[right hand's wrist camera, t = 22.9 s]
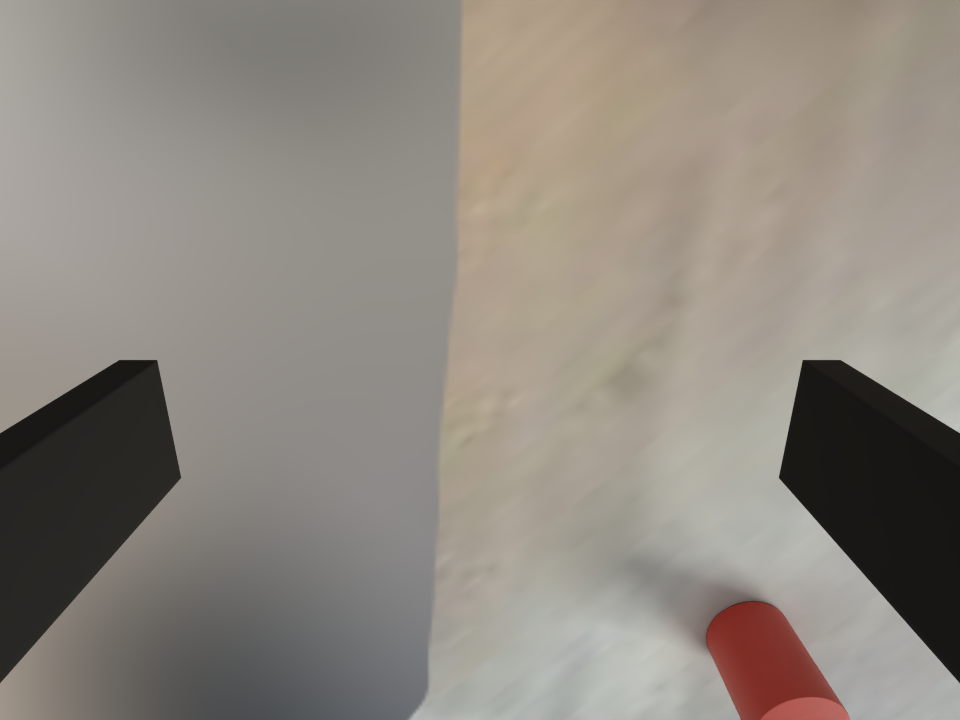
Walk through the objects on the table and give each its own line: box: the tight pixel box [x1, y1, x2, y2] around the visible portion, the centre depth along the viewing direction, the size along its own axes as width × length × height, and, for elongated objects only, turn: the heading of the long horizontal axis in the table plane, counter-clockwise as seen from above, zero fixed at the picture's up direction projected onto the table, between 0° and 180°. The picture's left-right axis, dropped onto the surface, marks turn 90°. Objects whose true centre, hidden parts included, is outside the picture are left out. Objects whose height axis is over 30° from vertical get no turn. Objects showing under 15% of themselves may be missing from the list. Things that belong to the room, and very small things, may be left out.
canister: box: [706, 602, 850, 720], centre depth 40 cm, size 6×6×8 cm
